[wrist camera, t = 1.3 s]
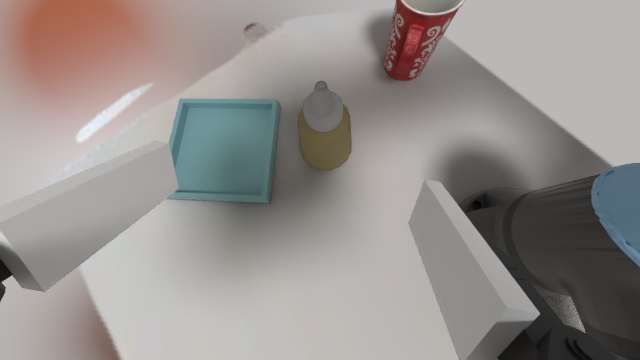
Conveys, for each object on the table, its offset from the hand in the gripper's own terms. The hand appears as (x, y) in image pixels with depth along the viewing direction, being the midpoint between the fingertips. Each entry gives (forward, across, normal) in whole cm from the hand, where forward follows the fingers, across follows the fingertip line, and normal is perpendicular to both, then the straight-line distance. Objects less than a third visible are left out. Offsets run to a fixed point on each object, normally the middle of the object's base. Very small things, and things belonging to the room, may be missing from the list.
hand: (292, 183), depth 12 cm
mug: (+39, +12, +5) cm, 41 cm away
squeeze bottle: (+27, +1, -9) cm, 28 cm away
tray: (+26, -17, -11) cm, 33 cm away
